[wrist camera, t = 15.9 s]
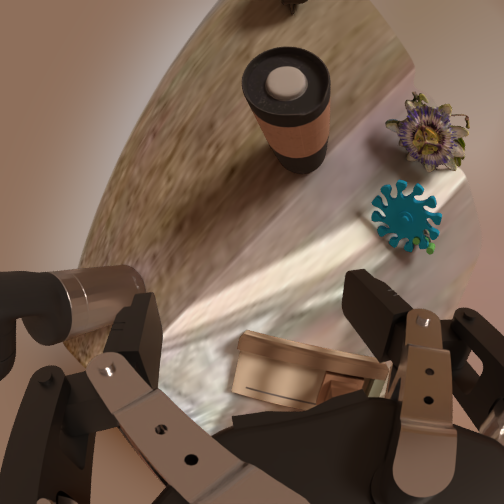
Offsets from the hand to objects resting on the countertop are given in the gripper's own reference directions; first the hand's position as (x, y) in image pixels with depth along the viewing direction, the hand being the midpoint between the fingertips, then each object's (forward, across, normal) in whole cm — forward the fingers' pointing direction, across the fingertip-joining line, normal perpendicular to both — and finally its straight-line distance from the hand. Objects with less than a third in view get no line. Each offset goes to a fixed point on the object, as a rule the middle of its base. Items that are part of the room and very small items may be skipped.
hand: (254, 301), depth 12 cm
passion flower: (+25, -31, -7) cm, 40 cm away
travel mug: (+31, -13, -4) cm, 34 cm away
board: (+19, -11, +27) cm, 34 cm away
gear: (+22, -25, +5) cm, 34 cm away
